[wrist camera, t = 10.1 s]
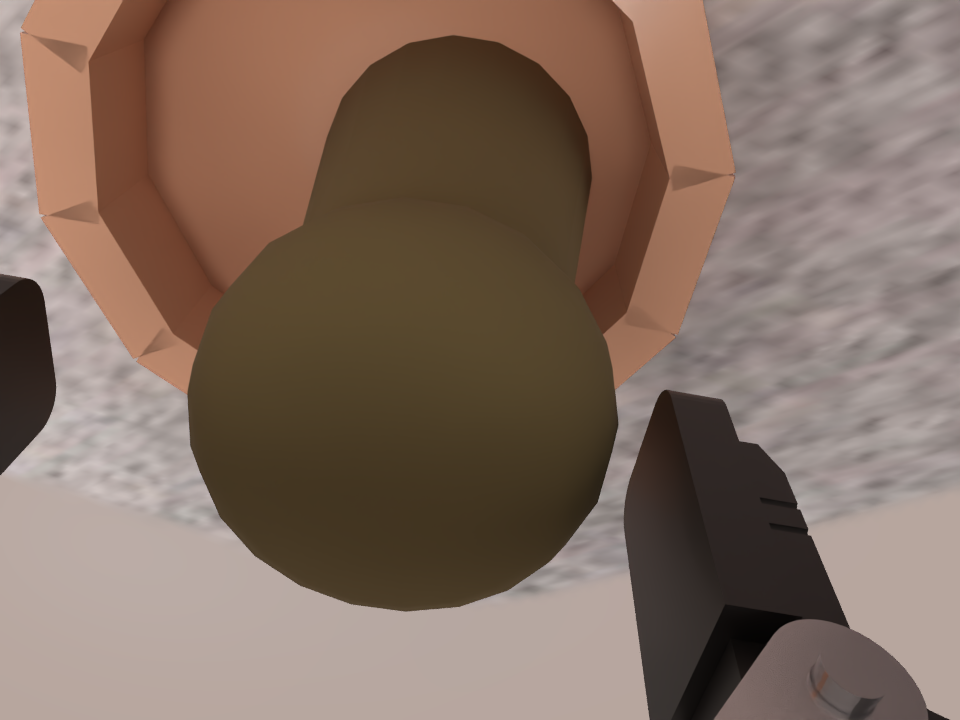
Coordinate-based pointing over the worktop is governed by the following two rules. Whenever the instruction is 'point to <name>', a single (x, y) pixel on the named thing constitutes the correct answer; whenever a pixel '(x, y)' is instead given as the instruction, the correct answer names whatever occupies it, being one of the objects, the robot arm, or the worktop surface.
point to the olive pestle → (417, 344)
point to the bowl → (304, 128)
